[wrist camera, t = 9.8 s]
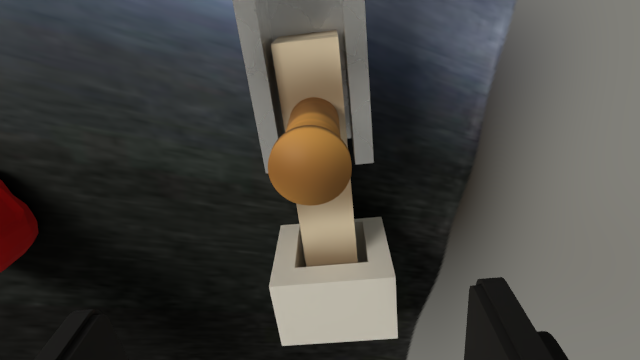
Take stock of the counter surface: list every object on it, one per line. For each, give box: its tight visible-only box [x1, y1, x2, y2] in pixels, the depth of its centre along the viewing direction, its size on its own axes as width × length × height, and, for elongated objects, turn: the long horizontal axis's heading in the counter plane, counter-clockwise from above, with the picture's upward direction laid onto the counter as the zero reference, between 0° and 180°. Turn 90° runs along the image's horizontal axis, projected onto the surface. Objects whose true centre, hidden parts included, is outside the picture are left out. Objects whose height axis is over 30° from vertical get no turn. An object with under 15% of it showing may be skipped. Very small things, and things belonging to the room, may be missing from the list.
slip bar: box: [268, 30, 358, 267], centre depth 26 cm, size 20×4×11 cm, turn 6°
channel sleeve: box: [232, 0, 374, 173], centre depth 24 cm, size 18×7×6 cm, turn 6°
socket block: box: [269, 217, 398, 346], centre depth 32 cm, size 6×9×8 cm, turn 97°
